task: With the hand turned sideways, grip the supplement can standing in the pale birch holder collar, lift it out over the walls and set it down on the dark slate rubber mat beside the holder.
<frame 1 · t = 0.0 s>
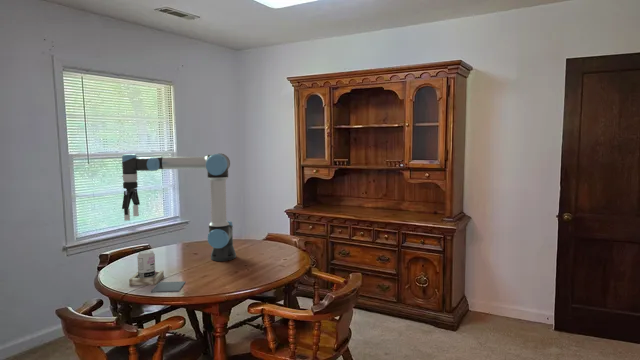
hand: (131, 218, 241), 28 cm above the table, fingers open, 13 cm apart
slate mat: (168, 287, 208), on the table
supplement can: (147, 281, 218), resting in holder collar
holder collar: (147, 280, 218), on the table
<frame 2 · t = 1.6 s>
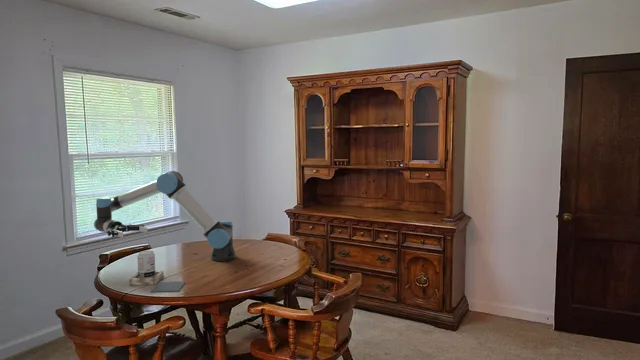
hand: (134, 232, 222), 24 cm above the table, fingers open, 13 cm apart
nothing on the table moved.
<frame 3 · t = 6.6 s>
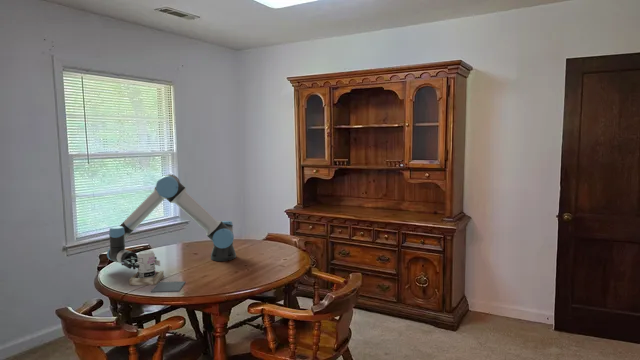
hand: (151, 265, 215), 9 cm above the table, fingers closed on supplement can, 8 cm apart
supplement can: (147, 280, 218), resting in holder collar, touching gripper
when the fingers open (11 cm above the table, at t = 12.1 s): supplement can drops 2 cm, resting on slate mat.
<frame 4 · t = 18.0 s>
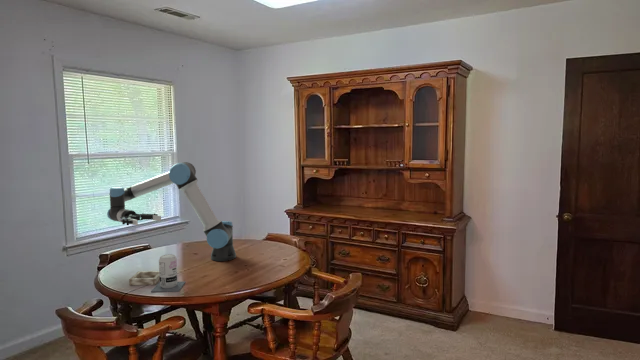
hand: (149, 220, 223), 30 cm above the table, fingers open, 13 cm apart
supplement can: (168, 286, 208), resting on slate mat
at the end: supplement can inside the target area on the slate mat (0.1 cm from its centre), point 0.4 cm above the slate mat's base; supplement can tilted 0°; the gripper is holding nothing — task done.
